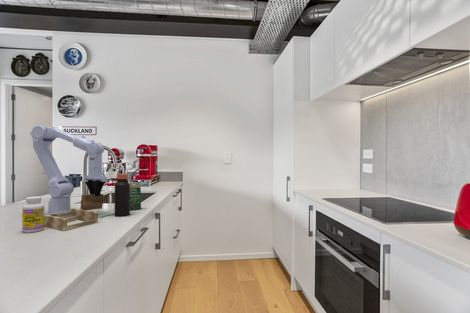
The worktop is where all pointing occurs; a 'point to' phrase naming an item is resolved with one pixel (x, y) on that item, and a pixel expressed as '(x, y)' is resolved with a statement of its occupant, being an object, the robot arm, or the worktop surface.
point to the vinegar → (122, 196)
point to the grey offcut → (63, 214)
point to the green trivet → (103, 213)
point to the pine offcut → (71, 219)
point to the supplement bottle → (33, 215)
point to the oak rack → (61, 224)
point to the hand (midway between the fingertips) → (95, 195)
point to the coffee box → (135, 197)
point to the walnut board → (91, 202)
